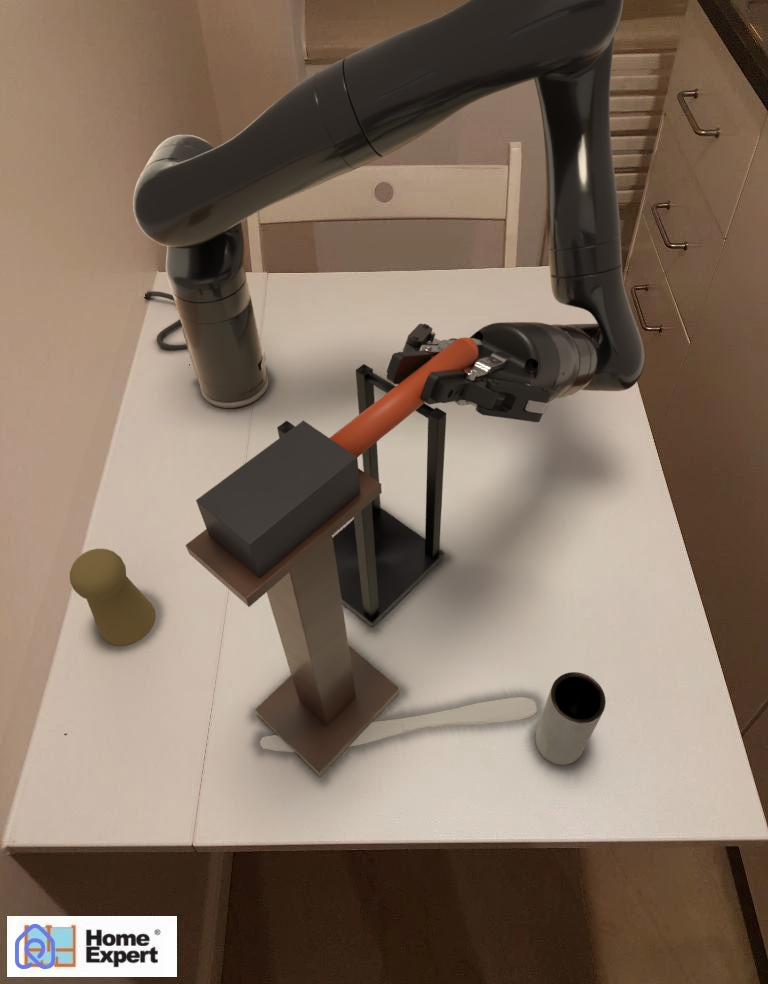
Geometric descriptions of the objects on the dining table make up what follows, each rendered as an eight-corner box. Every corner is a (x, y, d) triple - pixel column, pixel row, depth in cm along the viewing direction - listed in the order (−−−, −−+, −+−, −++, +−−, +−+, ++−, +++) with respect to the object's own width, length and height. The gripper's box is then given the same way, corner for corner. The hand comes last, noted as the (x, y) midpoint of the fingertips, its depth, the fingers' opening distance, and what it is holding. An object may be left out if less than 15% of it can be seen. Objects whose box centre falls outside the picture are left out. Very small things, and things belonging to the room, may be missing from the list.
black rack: (301, 570, 81) (270, 427, 64) (373, 507, 87) (363, 359, 69) (372, 627, 76) (360, 491, 59) (444, 557, 82) (453, 412, 64)
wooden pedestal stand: (253, 718, 71) (170, 532, 47) (339, 635, 76) (305, 431, 52) (316, 781, 67) (262, 613, 43) (402, 689, 72) (397, 494, 48)
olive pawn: (141, 650, 76) (107, 596, 67) (88, 640, 76) (48, 585, 68) (164, 601, 79) (134, 543, 71) (113, 592, 80) (77, 534, 72)
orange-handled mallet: (208, 534, 46) (195, 500, 44) (446, 349, 57) (448, 312, 54) (259, 578, 44) (249, 544, 41) (497, 377, 55) (501, 340, 52)
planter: (586, 726, 69) (609, 680, 61) (579, 772, 66) (601, 730, 58) (540, 712, 70) (556, 665, 62) (530, 756, 67) (546, 713, 59)
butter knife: (541, 723, 69) (533, 694, 71) (260, 761, 68) (259, 730, 70) (540, 725, 69) (532, 696, 71) (261, 763, 68) (260, 732, 70)
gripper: (475, 294, 65) (354, 288, 52) (610, 360, 59) (512, 373, 46) (446, 370, 69) (325, 383, 55) (571, 440, 62) (469, 474, 49)
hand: (411, 378), depth 50 cm, fingers closed
